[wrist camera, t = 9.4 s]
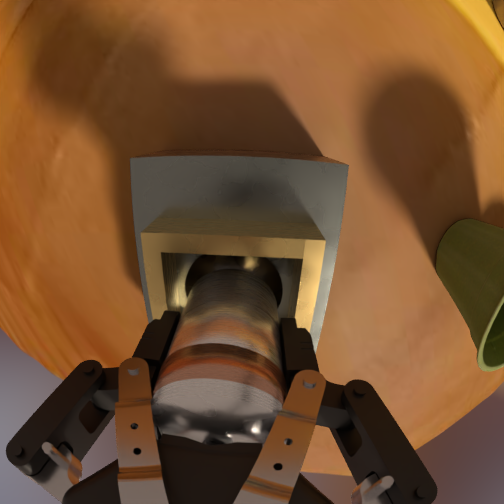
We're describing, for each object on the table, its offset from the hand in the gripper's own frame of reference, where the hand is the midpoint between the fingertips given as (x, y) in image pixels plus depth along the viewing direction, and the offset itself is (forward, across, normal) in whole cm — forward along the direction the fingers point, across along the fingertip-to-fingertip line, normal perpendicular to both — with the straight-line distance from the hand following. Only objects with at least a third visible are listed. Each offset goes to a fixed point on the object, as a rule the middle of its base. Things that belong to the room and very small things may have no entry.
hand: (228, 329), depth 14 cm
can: (+2, 0, 0) cm, 2 cm away
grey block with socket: (+10, 0, 0) cm, 10 cm away
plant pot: (+10, -22, -1) cm, 24 cm away
